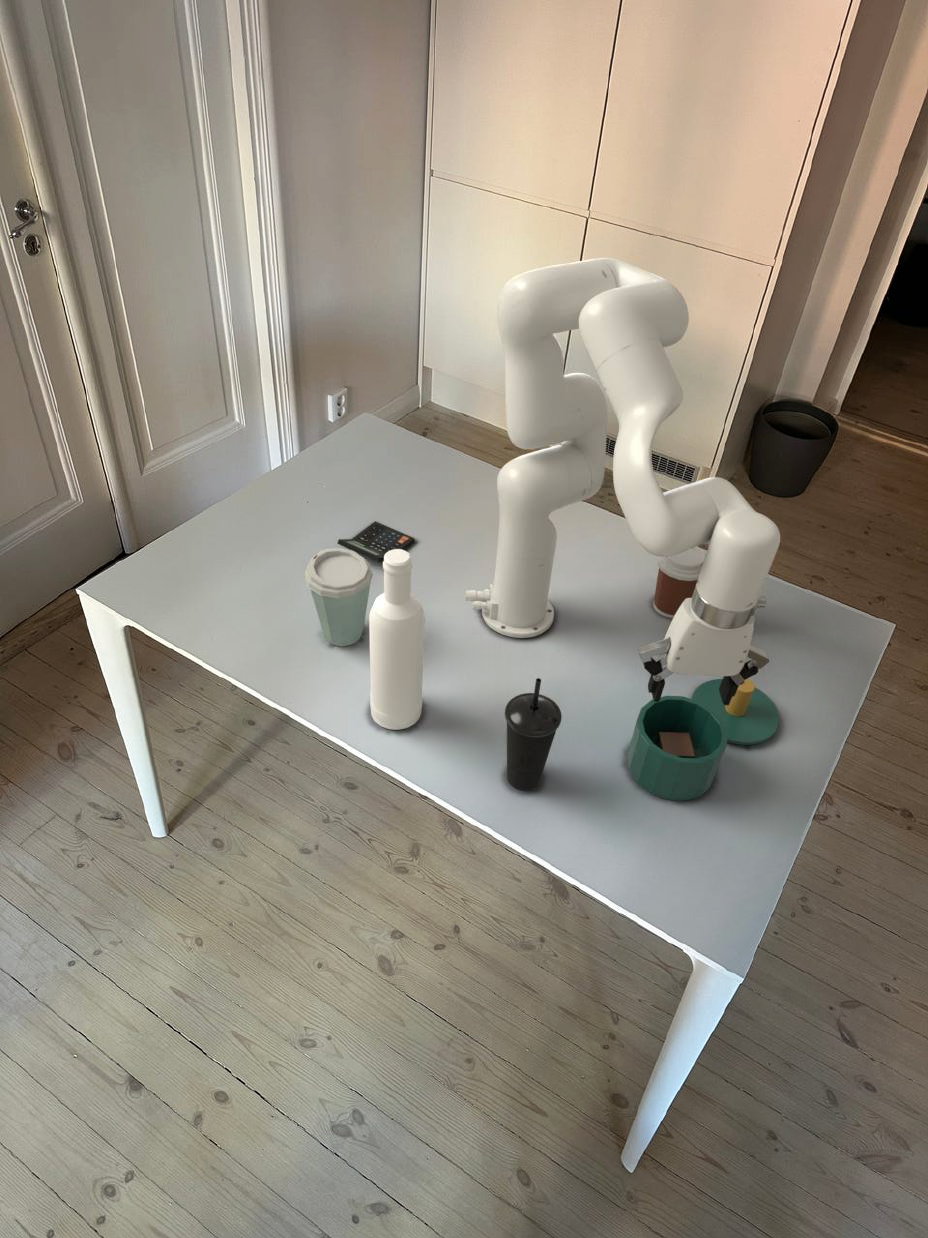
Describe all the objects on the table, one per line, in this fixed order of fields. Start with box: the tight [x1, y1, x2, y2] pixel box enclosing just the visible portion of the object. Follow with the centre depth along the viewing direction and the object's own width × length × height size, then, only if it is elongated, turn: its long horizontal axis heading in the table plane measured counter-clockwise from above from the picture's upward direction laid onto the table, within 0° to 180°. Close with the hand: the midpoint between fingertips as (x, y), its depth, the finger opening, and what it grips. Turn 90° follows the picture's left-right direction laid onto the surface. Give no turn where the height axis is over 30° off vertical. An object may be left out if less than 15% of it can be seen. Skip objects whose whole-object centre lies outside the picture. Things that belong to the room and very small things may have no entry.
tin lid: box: [690, 678, 780, 746], centre depth 136 cm, size 14×14×7 cm
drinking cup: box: [504, 677, 563, 792], centre depth 120 cm, size 8×8×20 cm
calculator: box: [337, 521, 415, 563], centre depth 165 cm, size 9×12×3 cm
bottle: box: [368, 549, 426, 731], centre depth 125 cm, size 8×8×30 cm
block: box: [655, 732, 695, 758], centre depth 128 cm, size 4×4×4 cm
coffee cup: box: [652, 546, 706, 619], centre depth 154 cm, size 9×9×12 cm
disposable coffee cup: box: [304, 547, 373, 647], centre depth 142 cm, size 11×11×15 cm
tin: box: [626, 695, 728, 802], centre depth 127 cm, size 13×13×8 cm
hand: (689, 696), depth 121 cm, fingers open, 9 cm apart
